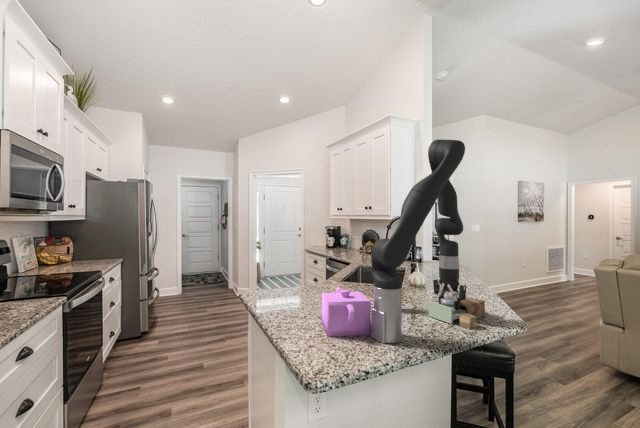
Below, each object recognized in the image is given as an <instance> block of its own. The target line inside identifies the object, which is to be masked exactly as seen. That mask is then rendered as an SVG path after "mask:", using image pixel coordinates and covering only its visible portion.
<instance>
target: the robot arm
mask: <svg viewBox="0 0 640 428" xmlns="http://www.w3.org/2000/svg"><path fill="white" fill-rule="evenodd" d="M465 151H466V145H465V143H464V142H463V141H461V140H459V139H435V140H433V141H432V142H431V143H430V145H429V147H428V151H427V153H428V154H427V156H428V162H429V166H430V171H431V173H430V174H428V175H427V176H425V177H424V178H423V179H421V180H420V181H418V182H417V183H415V185H413V186H412V187H411V189H410V191H408V194H407V196H406V197H405V199H404V201H403V203H402V206H401V211H400V219H399V222H398V224H397V227H396V228H395V230H394V232H393V233H392V234H391V236H390V238H380V239H378V240H376V241H375V242H374V244H373V245H372V248H371V254H370V257H371V276H372V279H373V308H372V309H371V328H370V335H371V336H370V338H373V339H375V340H377V341H378V342H380V343H382V344H394V343H395V344H396V343H400V342H401V341H402V338H403V337H402V336H403V335H402V331H403V328H402V327H403V325H402V323H403V321H402V318H403V316H402V314H403V311H402V310H403V309H402V306H403V303H402V301H403V295H402V294H403V282H402V281H403V280H402V278H401V277H400V275H399V274H398V270H397V268H399V267H401V265H403V263H405V261H406V259H407V257H408V255H409V253H410V250H411V248H412V246H413V244H414V242H415V239H416V237H417V234H418V233H419V231H420V229H421V228H422V226H423V225H424V223H425V221H426V218H427V217H428V216H429V214H430V212H431V211H432V208H433V207H434V205H435V203H436V202H437V211H438V213H439V215H441V216H442V217H438V218H437V219H436V220H435V222H434V229H435V232H436V234H437V239H438V243H439V259H438V277H439V279H433V280H432V283H433V293H434V295H437V297H438V304H441V298H445V296H444V295H445V294H446V292H448V293H450V295H451V296H453V297H454V299H455V301H454V309H455V310H456V311H458V310H459V309H460V308H461V307H460V306H461V305H460V302H461V301H462V300H465V298H466V297H467V287H468V286H467V285H466V284H464V285H463V284H460V282H459V281H460V280H459V279H460V259H459V244H458V242H457V241H455V240H454V241H453V240H449V239H447V238H446V236H459V235H461V234H462V233H463V231H464V224H463V221H462V218H461V216H460V213H459V210H458V209H459V208H458V194H457V191H456V189H455V187H454V185H453V183H452V182H451V181H450V178H451V177H452V175H453V174H454V173H455V171H456V170H457V169H458V167H459V165H461V162H462V161H463V158H464V155H465V153H466V152H465Z"/></svg>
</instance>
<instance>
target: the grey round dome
mask: <svg viewBox="0 0 640 428" xmlns="http://www.w3.org/2000/svg"><path fill="white" fill-rule="evenodd" d="M454 301H455V299H454V298H446V297H444V298H441V305H445V306H448V307H454Z"/></svg>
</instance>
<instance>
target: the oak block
mask: <svg viewBox="0 0 640 428" xmlns="http://www.w3.org/2000/svg"><path fill="white" fill-rule="evenodd" d="M459 327H461V328H465V329H468V330H472V329H473V330H474V329H475V328H477V319H476V316H473V315H469V314H462V315H460V318H459Z"/></svg>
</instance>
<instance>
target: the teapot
mask: <svg viewBox="0 0 640 428" xmlns="http://www.w3.org/2000/svg"><path fill="white" fill-rule="evenodd" d="M335 290H336V292H332V291H331V292H322V293H321V325H322V328H323V329H324V332H325V334H326V337H329V338H330V337H347V336H348V337H349V336H350V337H351V336H367V335H369V336H370V335H371V311H372V309H371V308H372V307H371V305H372V304H371V302H372V301H371V300H370V299H369V298H368V297H367V296H365V294H363V293H362V292H361V291H351V290H349V289H341V287H339V286H336V288H335Z"/></svg>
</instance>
